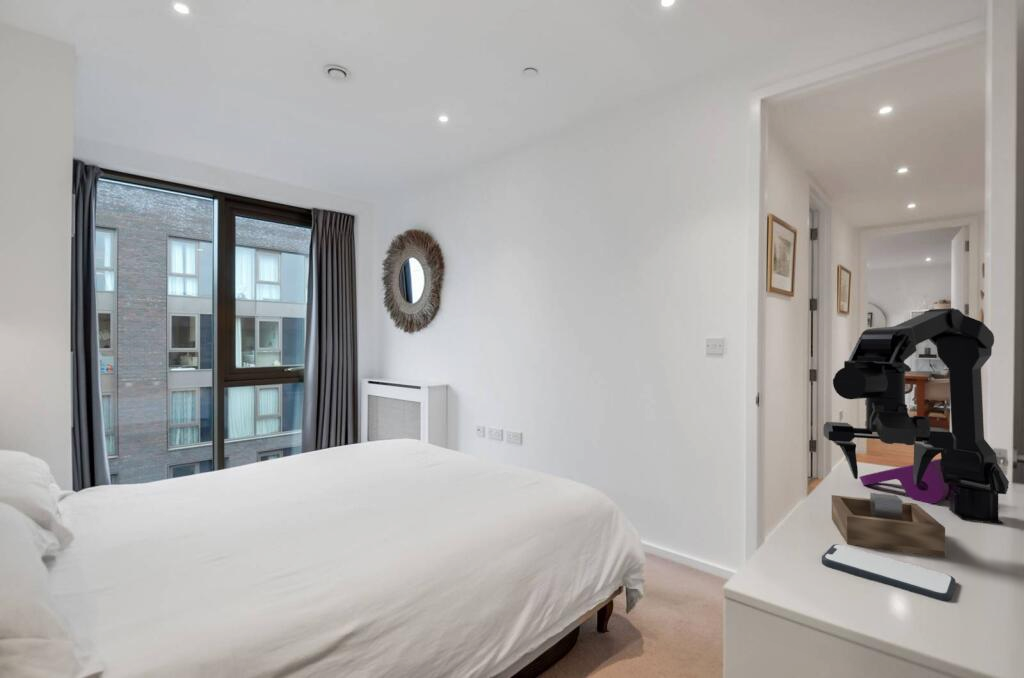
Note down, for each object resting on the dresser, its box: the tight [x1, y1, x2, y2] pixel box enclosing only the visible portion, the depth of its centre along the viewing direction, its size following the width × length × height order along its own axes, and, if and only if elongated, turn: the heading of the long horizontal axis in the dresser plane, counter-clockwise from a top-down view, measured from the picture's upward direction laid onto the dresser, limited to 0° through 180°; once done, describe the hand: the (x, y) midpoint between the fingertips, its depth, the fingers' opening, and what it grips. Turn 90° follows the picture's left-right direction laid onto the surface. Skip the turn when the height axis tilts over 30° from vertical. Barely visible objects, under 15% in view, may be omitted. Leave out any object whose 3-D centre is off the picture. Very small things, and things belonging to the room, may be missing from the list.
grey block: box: [869, 492, 903, 521], centre depth 91 cm, size 4×6×7 cm, turn 157°
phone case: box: [821, 544, 956, 602], centre depth 77 cm, size 9×2×16 cm
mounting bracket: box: [858, 458, 953, 505], centre depth 116 cm, size 10×8×18 cm
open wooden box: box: [831, 494, 946, 558], centre depth 91 cm, size 14×13×5 cm
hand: (885, 481), depth 89 cm, fingers open, 9 cm apart
